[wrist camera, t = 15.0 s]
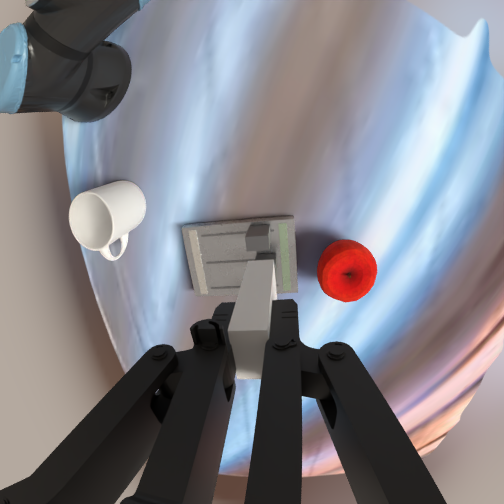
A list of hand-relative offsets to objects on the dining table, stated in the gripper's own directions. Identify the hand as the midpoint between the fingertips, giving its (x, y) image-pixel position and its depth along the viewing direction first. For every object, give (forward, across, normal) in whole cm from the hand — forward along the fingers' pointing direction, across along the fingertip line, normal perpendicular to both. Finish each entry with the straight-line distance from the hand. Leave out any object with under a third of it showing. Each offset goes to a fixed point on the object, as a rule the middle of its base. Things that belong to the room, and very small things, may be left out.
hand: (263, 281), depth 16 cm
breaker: (+24, -2, -4) cm, 25 cm away
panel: (+26, -6, -9) cm, 29 cm away
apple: (+27, +10, -10) cm, 30 cm away
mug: (+27, -25, 0) cm, 37 cm away
